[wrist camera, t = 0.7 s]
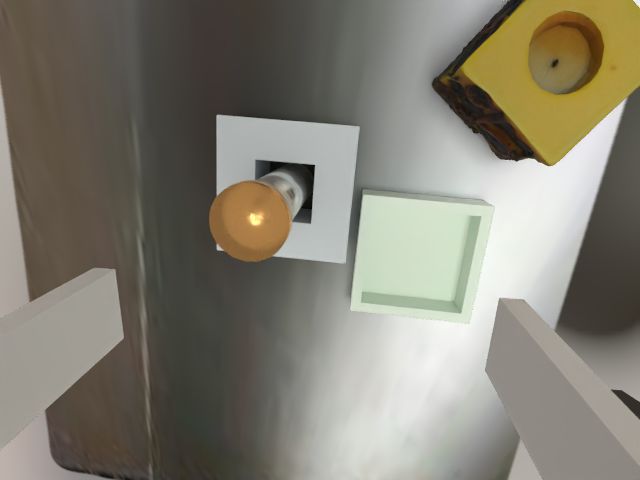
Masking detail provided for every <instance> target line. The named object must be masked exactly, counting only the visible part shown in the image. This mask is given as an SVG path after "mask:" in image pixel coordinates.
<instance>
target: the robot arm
mask: <svg viewBox="0 0 640 480" xmlns="http://www.w3.org/2000/svg"><path fill="white" fill-rule="evenodd" d="M123 338H124V335H123V327H122V320H121V312H120V304H119V296H118V289H117V281H116V273H115V269H104V268H93V269H91V270H89V271H87V272H86V273H84V274H82V275H80V276H78V277H76V278H74V279H73V280H71V281H69V282H67V283H65V284H63V285H61V286H60V287H58V288H56V289H54V290H52V291H50V292H49V293H47V294H45V295H43V296H41V297H39V298H37V299H36V300H34V301H32V302H30V303H28V304H26V305H24V306H23V307H21V308H19V309H17V310H15V311H13V312H11V313H10V314H8V315H6V316H4V317H2V318H0V450H1V449H2V448H4V447H5V446H6V445H7V444H8V443H9V442H10V441H11V440H12V439H13V438H15V437H16V436H17V435H18V434H19V433H20V432H21V431H22V430H23V429H24V428H25V427H27V426H28V425H29V424H30V423H31V422H32V421H33V420H34V419H35V418H37V417H38V416H39V415H40V414H41V413H42V412H43V411H44V410H45V409H46V408H48V407H49V406H50V405H51V404H52V403H53V402H54V401H55V400H56V399H57V398H59V397H60V396H61V395H62V394H63V393H64V392H65V391H66V390H67V389H68V388H70V387H71V386H72V385H73V384H74V383H75V382H76V381H77V380H78V379H79V378H81V377H82V376H83V375H84V374H85V373H86V372H87V371H88V370H89V369H90V368H92V367H93V366H94V365H95V364H96V363H97V362H98V361H99V360H100V359H101V358H103V357H104V356H105V355H106V354H107V353H108V352H109V351H110V350H111V349H112V348H114V347H115V346H116V345H117V344H118V343H119V342H120V341H121V340H122V339H123ZM485 371H486V373H487V375H488V377H489V379H490V380H491V382H492V384H493V386H494V388H495V390H496V392H497V394H498V396H499V398H500V399H501V401H502V403H503V405H504V407H505V409H506V411H507V413H508V415H509V417H510V418H511V420H512V422H513V424H514V426H515V428H516V430H517V432H518V434H519V436H520V437H521V439H522V441H523V443H524V445H525V447H526V449H527V451H528V453H529V454H530V456H531V458H532V460H533V462H534V464H535V466H536V468H537V470H538V471H539V473H540V475H541V477H542V479H543V480H640V402H639V401H637V400H636V399H634V398H633V397H631V396H629V395H628V394H626V393H625V392H623V391H621V390H611V389H609V388H608V387H607V386H606V384H605V383H604V382H603V381H602V380H601V379H600V378H599V377H598V376H597V375H596V374H595V373H594V372H593V371H592V370H591V369H590V368H589V367H588V366H587V365H586V364H585V363H584V362H583V361H582V360H581V359H580V358H579V356H578V355H577V354H576V353H575V352H573V350H572V349H571V348H570V347H569V346H568V345H567V344H566V343H565V342H564V341H563V340H562V339H561V338H560V337H559V336H558V335H557V334H556V333H555V332H554V331H553V329H552V328H551V327H550V326H549V325H548V324H547V323H546V322H545V321H544V320H543V319H542V318H541V317H540V316H539V315H538V314H537V313H536V312H535V311H534V310H533V309H532V308H531V307H530V306H529V305H528V304H527V303H526V301H525V300H522V299H508V298H499V302H498V307H497V312H496V317H495V322H494V327H493V333H492V338H491V343H490V348H489V353H488V358H487V363H486V368H485Z"/></svg>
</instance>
